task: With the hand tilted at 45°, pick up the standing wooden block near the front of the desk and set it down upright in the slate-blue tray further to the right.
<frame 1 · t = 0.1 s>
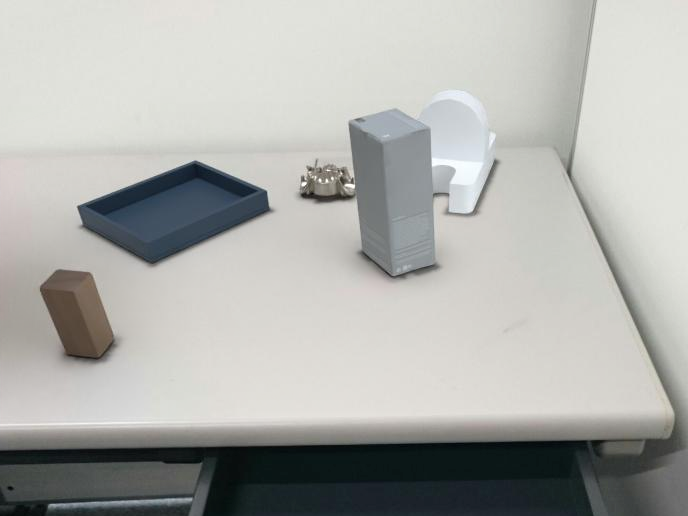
tray: (177, 217, 99), on the table
cosmetic box: (394, 260, 91), on the table
ornament: (328, 193, 104), on the table
wooden block: (91, 348, 79), on the table
bracket: (449, 183, 106), on the table
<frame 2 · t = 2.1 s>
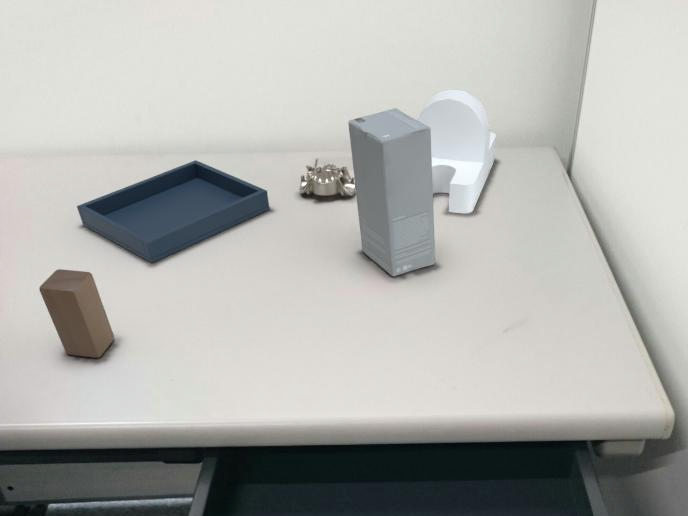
nothing on the table moved.
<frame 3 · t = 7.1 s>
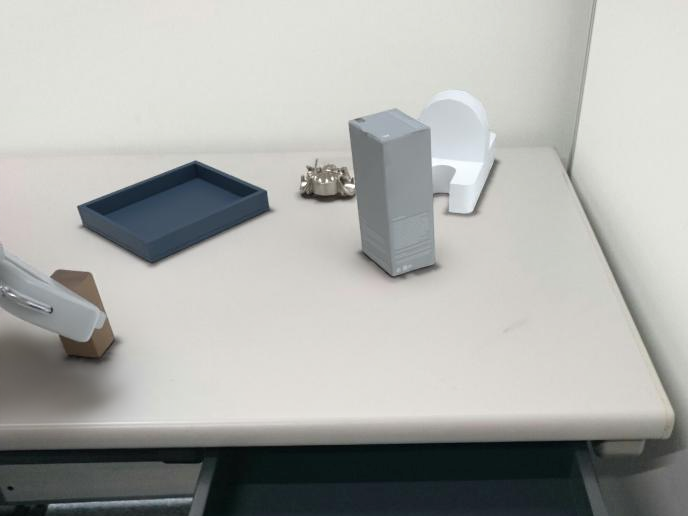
hand: (82, 308, 76), 4 cm above the table, tool tilted 45°, fingers closed on wooden block, 5 cm apart
wooden block: (92, 348, 79), on the table, touching gripper
everything else where it was.
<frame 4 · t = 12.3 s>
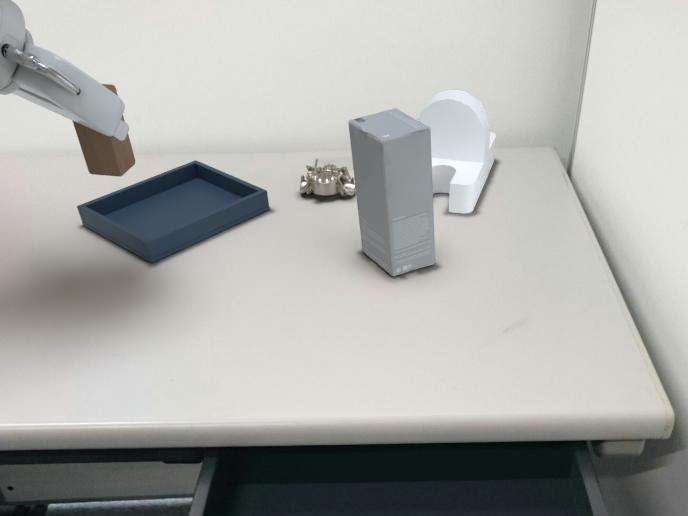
hand: (105, 125, 78), 16 cm above the table, tool tilted 45°, fingers closed on wooden block, 5 cm apart
wooden block: (113, 171, 81), point 12 cm above the table, touching gripper
everything else where it was.
when the fingers open (5 cm above the table, at t = 17.7 s): wooden block stays where it is, resting on tray.
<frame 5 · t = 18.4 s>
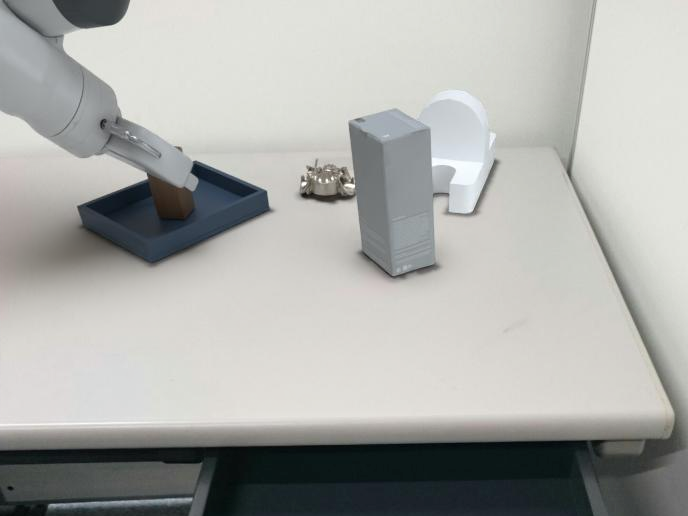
hand: (171, 174, 95), 5 cm above the table, tool tilted 45°, fingers open, 8 cm apart
wooden block: (177, 214, 99), resting on tray
everything else where it was.
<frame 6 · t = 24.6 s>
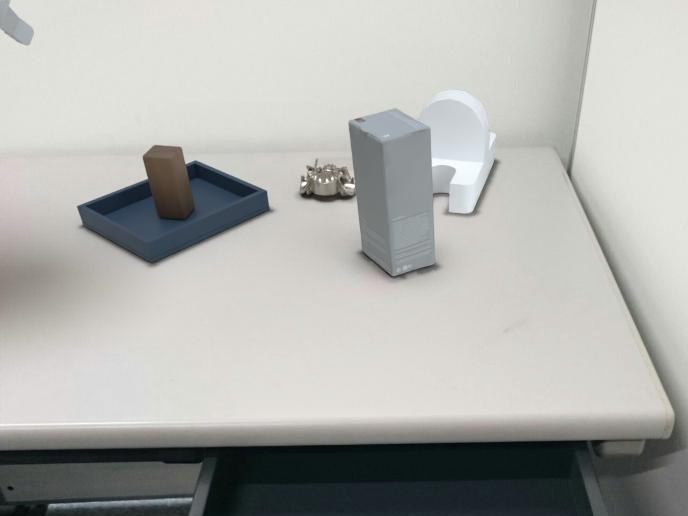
hand: (4, 28, 73), 24 cm above the table, tool tilted 45°, fingers open, 8 cm apart
nothing on the table moved.
at the end: wooden block inside the target area in the tray (0.1 cm from its centre), point 0.4 cm above the tray's base; wooden block tilted 0°; the gripper is holding nothing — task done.
